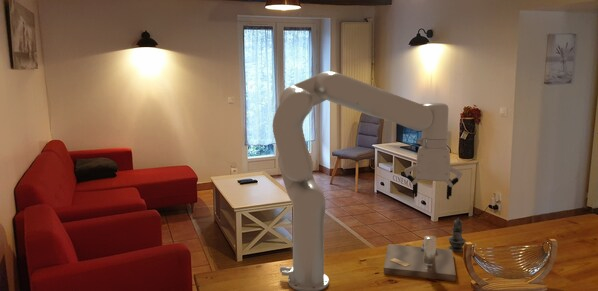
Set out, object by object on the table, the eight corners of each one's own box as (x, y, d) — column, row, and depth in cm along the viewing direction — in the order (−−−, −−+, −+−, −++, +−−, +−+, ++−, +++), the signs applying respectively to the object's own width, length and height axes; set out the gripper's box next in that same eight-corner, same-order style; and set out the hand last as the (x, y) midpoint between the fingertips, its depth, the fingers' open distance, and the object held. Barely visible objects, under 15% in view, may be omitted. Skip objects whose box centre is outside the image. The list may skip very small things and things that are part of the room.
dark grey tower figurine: (462, 246, 174) (464, 214, 171) (466, 252, 168) (468, 220, 166) (446, 245, 174) (448, 214, 172) (449, 252, 168) (451, 220, 166)
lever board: (383, 273, 152) (383, 265, 152) (388, 248, 172) (388, 242, 171) (455, 280, 147) (455, 273, 146) (451, 254, 166) (451, 247, 166)
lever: (422, 243, 168) (423, 218, 166) (434, 244, 167) (435, 219, 165) (422, 267, 149) (423, 239, 147) (435, 268, 148) (437, 240, 146)
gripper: (404, 144, 144) (402, 198, 147) (464, 146, 139) (461, 202, 143) (406, 140, 151) (404, 191, 154) (463, 142, 146) (460, 195, 150)
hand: (431, 197), depth 148 cm, fingers open, 9 cm apart
